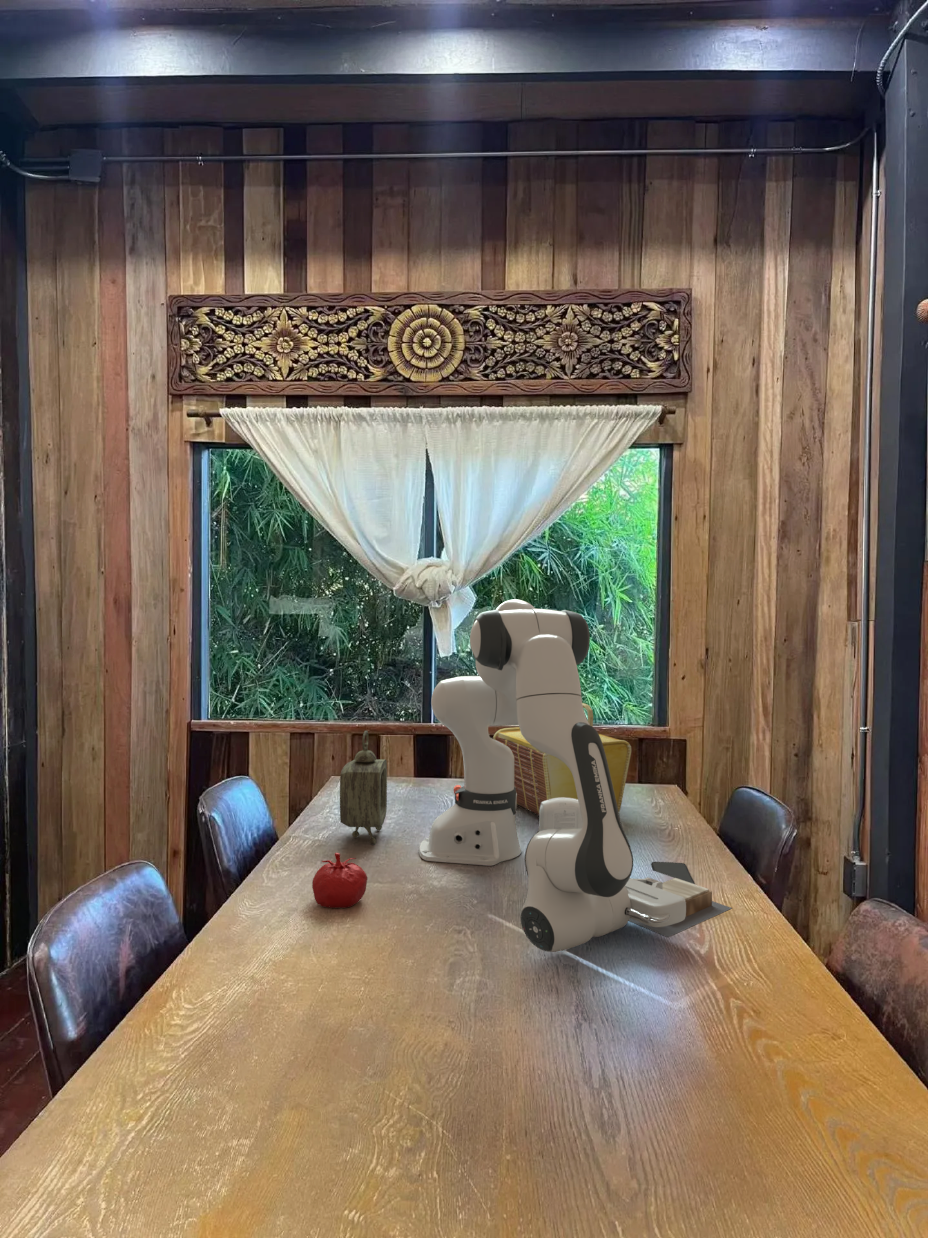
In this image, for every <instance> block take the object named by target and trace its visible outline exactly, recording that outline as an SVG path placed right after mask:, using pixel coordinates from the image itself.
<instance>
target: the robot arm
mask: <svg viewBox="0 0 928 1238" xmlns="http://www.w3.org/2000/svg"><path fill="white" fill-rule="evenodd" d="M590 638H591V635H590V628H589V625H588V622H587V620H586V619H585V618H584V617H583V616H582V614H580V613H578V612H574V611H571V610H566V609H562V610H556V609H555V610H554V609H544V608H536V607H535V606H533V605H532V604H531V603H529V602H527V601H525V600H522V599H517V598H516V599H515V598H514V599H509V600H505V601H504V602H502V603H501V604H499V605H498V606H497V607H496V608H495V609H491V610H487V611H483V612H480V613H478V614H477V616H476V617H475V619H474V620H473V623H472V627H471V630H470V635H469V644H470V648H471V651H472V655H473V658H474V660H475V669H476V671H477V674H478V675H465V676H464V675H462V676H456V677H451V678H446V679H443V680H440V681H439V682H438V683H437V684H436V686H435V688H434V689H433V691H432V695H431V702H430V704H431V710H432V712H433V715H434V716H435V718H436V719H437V720H438V722H440V723H441V724H442V725H443V726H445V727H446V728H447V729H448V730H449V731H451V733H452V735H454V737H455V738H456V740H457V742H458V745H459V746H460V749H461V750H460V751H461V753H462V759H463V774H464V775H463V777H464V779H463V780H464V783H463V784H464V786H461V785H460V784H456V785H454V787H453V794H454V804H453V805H452V806H451V807H449V808H448V809H447V810H445V811H444V812H442V813H441V814H440V815H438V816H437V817H436V818H435V819H434V820H433V822H432V824H431V827H430V830H429V836H428V837H427V838H424V839H423V840H422V841H421V842H420V844H419V850H418V851H419V852H418V854H419V857H420V858H422V859H423V860H424V861H429V862H437V863H438V862H440V863H452V864H465V865H467V864H468V865H479V866H494V865H497V864H499V863H500V862H504V861H509V860H512V859H515V858H517V857H518V856H520V854H521V853H522V848H521V845H520V841H519V836H518V831H517V830H518V829H517V823H516V813H517V809H518V808H517V805H518V804H517V793H516V788H515V787H514V755H513V753H512V751H511V750H510V748H509V747H507V746H506V745H504V744H503V743H501V742H499V741H497V740H494V739H493V737H491V736H490V733H489V727H492V726H495V727H497V726H518V727H519V728H520V731H521V734H522V735H523V737H524V738H525V739H526V740H527V741H528V742H529V743H530V744H531V745H532V746H533V747H535V748H536V749H538V750H540V751H542V752H544V753H547V754H549V755H552V756H554V757H556V758H558V759H560V760H561V761H563V762H564V763H565V764H566V765H567V766H568V768H569V769H570V771H571V773H572V775H573V778H574V782H575V787H576V792H577V797H578V802H579V806H580V811H581V816H582V822H583V825H582V829H544V830H540V831H539V830H538V831H537V832H535V834H533V836H532V837H531V838H530V839H529V841H528V843H527V846H526V848H525V851H524V852H525V853H524V866H525V871H526V875H527V892H526V898H525V901H524V903H523V905H522V907H521V910H520V924H521V928H522V931H523V933H524V935H525V936H526V938H527V939H528V940H529V941H530V943H531V944H533V946H535V948H537V949H539V950H541V951H544V952H548V953H549V952H550V953H558V952H561V951H566V950H570V949H572V948H573V949H574V947H575V948H576V947H578V946H581V945H583V944H585V943H587V942H589V941H590V940H592V938H593V937H594V938H598V937H602V936H605V935H607V934H610V933H612V932H615V931H617V930H619V929H622V928H624V927H625V926H626V925H627V924H628V923H629V922H630V921H629V919H630V918H631V919H633V920H636V921H638V922H641V923H643V924H646V925H648V926H652V927H664V926H668V925H672V924H675V923H678V922H681V921H683V920H684V919H685V917H686V902H685V898H684V897H682V896H679V895H676V894H673V893H671V892H668V891H665V890H662V887H663V882H662V881H660V880H658V879H657V880H656V879H653V878H651V877H644V878H632V877H631V876H632V873H633V869H634V856H633V855H634V854H633V851H632V848H631V844H630V843H629V840H628V837H627V835H626V833H625V830H624V828H623V823H622V820H621V816H620V811H618V807H617V802H616V798H615V793H614V789H613V784H612V780H611V776H610V771H609V767H608V762H607V758H606V754H605V751H604V747H603V744H602V741H601V738H600V736H599V734H600V733H599V732H598V731H597V729H596V728H594V726H593V727H592V726H590V724H589V723H588V717H587V716H586V713H585V710H584V709H585V708H583V705H582V703H583V697H582V689H581V683H580V682H581V681H580V676H579V670H578V666H577V665H580V664H582V662H583V661H584V660H585V658H587V656H588V654H589V649H590V643H591V639H590Z"/></svg>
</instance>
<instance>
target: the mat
mask: <svg viewBox="0 0 928 1238" xmlns="http://www.w3.org/2000/svg"><path fill="white" fill-rule="evenodd" d="M729 910H733V908H732V907H730V906H728V905H725V904H722V903H719V902H716V901H713V900H712V906H710V907H707V908H705V909H703V910H700V911H698V912H696V913H694V914H691V915H689V916H687V917H685V919H684V920H683V921H681V922H678V923H675V924H672V925H668V926H664V927H652V926H648V925H646V924H643V923H641V922H638V921H636V920H633V919H631V918H630V919H629V921H628V922H630V923H631V924H634V925H638V926H640V927H642V928H645V929H646V930H649V931H651V932H654V933H657V934H659V935H661V936H664V937H666V938H671V937H672V936H675V935H676V934H679V933H681V932H683V931H686V930H687V929H690V928H692V927H694V926H697V925H699V924H701V923H703V922H705V921H707V920H709V919H712V918H714V917H716V916H718V915H721V914H723V913H726V912H727V911H729Z"/></svg>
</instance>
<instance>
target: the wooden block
mask: <svg viewBox="0 0 928 1238" xmlns="http://www.w3.org/2000/svg"><path fill="white" fill-rule="evenodd" d="M662 883H663V887H662V890H665V891H668V892H671V893H673V894H676V895H679V896H682V897H684V898H685V902H686V917H687V916H689V915H691V914H694V913H696V912H698V911H700V910H703V909H705V908H707V907H710V906H712V901H713V891H712V890H710V889H709V888H707V887H704V886H701V885H697V884H696V883H695V884H692V883H689V882H686V881H683V880H681V879H678V878H671V879H668V880H667V881H663V882H662Z"/></svg>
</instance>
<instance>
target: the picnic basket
mask: <svg viewBox="0 0 928 1238" xmlns="http://www.w3.org/2000/svg"><path fill="white" fill-rule="evenodd" d="M582 705H583V709H585V710H586V712H587V720H588V723H589V724H590V726H592V727H593V728H594V713H593V709H592V708H591V706H590V705H589V704H587V703H584V702H582ZM598 734H599V736H600V738H601V741H602V744H603V747H604V751H605V754H606V758H607V762H608V767H609V771H610V776H611V780H612V784H613V789H614V793H615V798H616V802H617V807H618V811H619V812H620V810H621V808H622V802H623V798H624V793H625V792H624V791H625V787H626V781H627V778H628V771H629V766H630V761H631V755H632V746H631V744H630V742H628V741H626V740H623V739H618V738H614V737H611V736H608V735H604V734H601V733H598ZM492 739H494V740H497V741H499V742H501V743H503V744H504V745H506V746H507V747H509V748H510V750H511V751H512V753H513V755H514V787H515V788H516V793H517V805H518V806H520V807H522V808H523V809H526V810H528V811H530V812H532V813H533V814H535V815H537V816H539V811H540V805H541V802H543V801H546V800H549V799H553V798H573V799H577V800H578V797H577V792H576V787H575V782H574V778H573V775H572V773H571V771H570V769H569V768H568V766H567V765H566V764H565V763H564V762H563V761H561V760H560V759H558V758H556V757H554V756H552V755H549V754H547V753H544V752H542V751H540V750H538V749H536V748H535V747H533V746H532V745H531V744H530V743H529V742H528V741H527V740H526V739H525V738H524V737H523V735H522V734H521V731H520V728H519V726H518V727H505V728H501V729H498V730H497V731H496V732H495V733H494V734H493V737H492Z"/></svg>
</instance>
